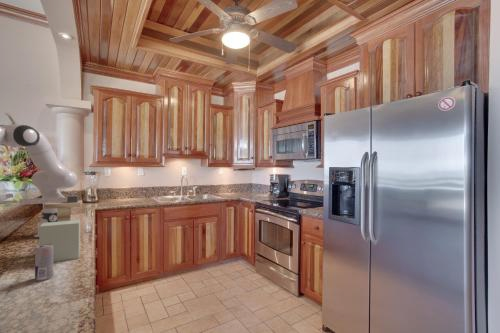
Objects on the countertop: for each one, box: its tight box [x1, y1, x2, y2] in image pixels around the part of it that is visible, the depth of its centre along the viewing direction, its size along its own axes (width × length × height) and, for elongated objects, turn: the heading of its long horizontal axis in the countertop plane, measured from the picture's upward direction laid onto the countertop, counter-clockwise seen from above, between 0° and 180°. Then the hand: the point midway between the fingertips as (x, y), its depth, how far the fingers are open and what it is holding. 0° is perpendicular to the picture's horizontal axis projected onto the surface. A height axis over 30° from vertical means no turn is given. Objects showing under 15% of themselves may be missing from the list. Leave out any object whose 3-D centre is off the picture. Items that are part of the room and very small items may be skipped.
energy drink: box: [34, 244, 54, 282], centre depth 96 cm, size 5×5×12 cm
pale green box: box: [38, 219, 81, 263], centre depth 116 cm, size 8×14×16 cm, turn 120°
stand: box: [44, 199, 83, 252], centre depth 126 cm, size 10×14×24 cm
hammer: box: [18, 194, 79, 206], centre depth 123 cm, size 7×22×3 cm, turn 120°
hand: (12, 195), depth 116 cm, fingers open, 8 cm apart
